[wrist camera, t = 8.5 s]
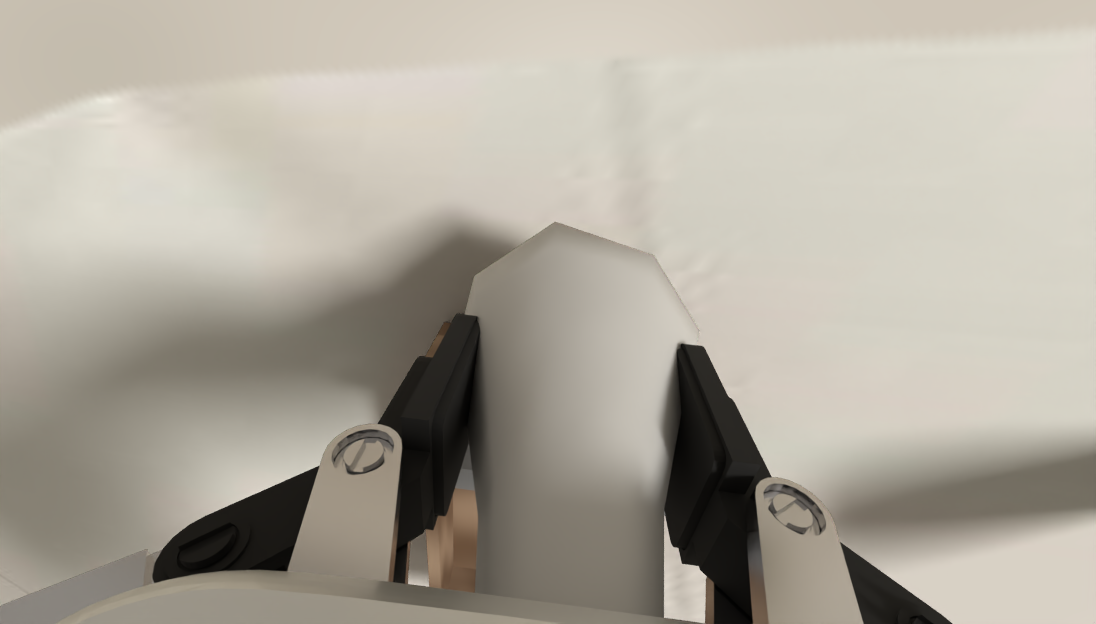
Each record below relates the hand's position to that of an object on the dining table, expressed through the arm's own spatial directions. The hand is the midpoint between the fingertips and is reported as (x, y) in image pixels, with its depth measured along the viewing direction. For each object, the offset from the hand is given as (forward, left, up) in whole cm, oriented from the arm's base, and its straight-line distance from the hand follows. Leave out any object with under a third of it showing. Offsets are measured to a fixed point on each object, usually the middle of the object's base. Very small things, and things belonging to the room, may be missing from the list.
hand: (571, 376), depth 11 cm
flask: (0, 0, -2) cm, 2 cm away
